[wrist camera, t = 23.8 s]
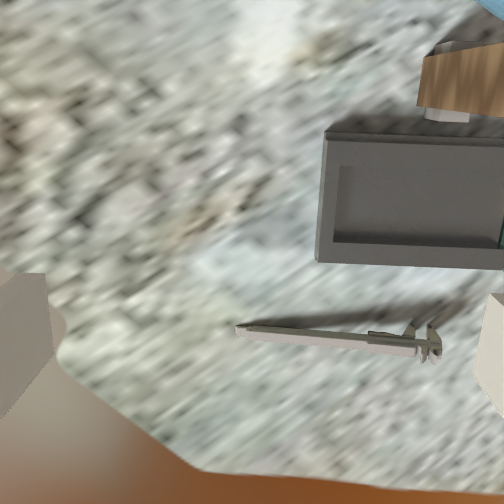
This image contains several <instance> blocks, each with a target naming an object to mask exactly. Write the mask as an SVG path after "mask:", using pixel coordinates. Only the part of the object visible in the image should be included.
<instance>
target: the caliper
mask: <svg viewBox="0 0 504 504" xmlns="http://www.w3.org/2000/svg"><path fill="white" fill-rule="evenodd" d="M235 331H236V335H238V336H242V337H246V339H249V340H259V341H270V342H281V343H292V344H303V345H314V346H325V347H336V348H347V349H358V350H367V353H377V354H387V355H397V356H407V357H415V355H419V356H420V357H421V358H420V362H421V364H422V363H424V362H425V361H426V359H427V356H428V359H429V360H430V361H431V363H433V364H434V365H436V359H441V356H442V341H441V338H440V337H439V335H438V334H437V332H436V331H435V329H434V328H433V327H432V326H430V325H427V326H426V340H424V339H415V328H414V325H408V327H407V329H406V330H405V332H404V333H403V335H402V336H399V335H394V334H390V333H386V332H374V331H368V335H367V334H355V333H343V332H331V331H319V330H307V329H295V328H284V327H272V326H248V327H245V326H235Z"/></svg>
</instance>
